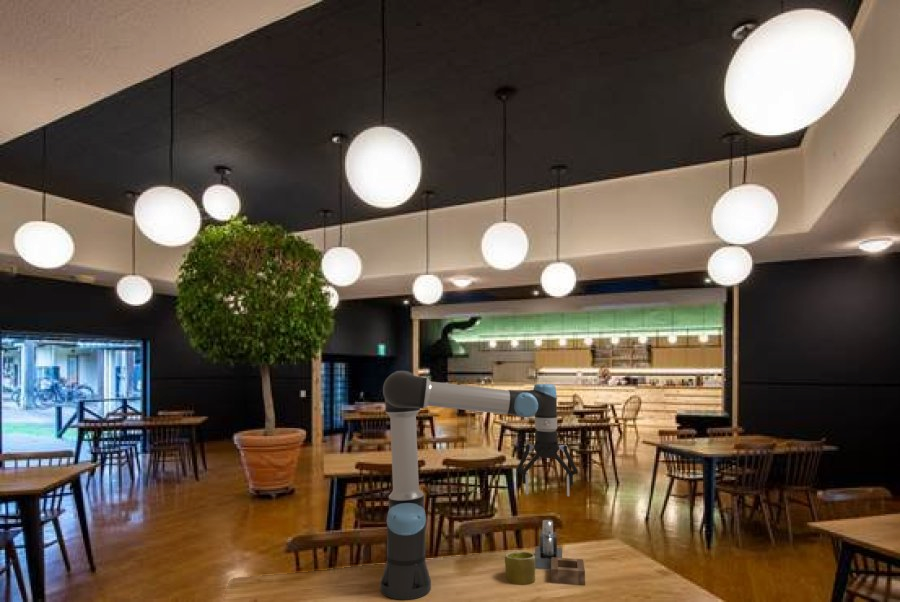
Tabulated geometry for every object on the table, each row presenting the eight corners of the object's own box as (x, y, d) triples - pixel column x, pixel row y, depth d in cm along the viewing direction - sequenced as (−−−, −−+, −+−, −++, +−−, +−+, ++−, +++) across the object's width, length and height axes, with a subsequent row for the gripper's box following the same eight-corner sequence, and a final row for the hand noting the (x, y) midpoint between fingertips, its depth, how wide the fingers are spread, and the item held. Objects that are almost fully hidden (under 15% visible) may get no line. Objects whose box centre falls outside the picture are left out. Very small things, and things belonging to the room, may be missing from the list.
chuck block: (534, 571, 174) (534, 542, 175) (535, 557, 186) (535, 530, 187) (562, 573, 172) (562, 544, 173) (562, 559, 184) (561, 532, 185)
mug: (540, 585, 159) (530, 549, 163) (507, 593, 161) (498, 557, 164) (544, 577, 170) (534, 544, 174) (513, 585, 172) (504, 552, 175)
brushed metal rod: (543, 566, 175) (542, 522, 177) (543, 563, 179) (542, 519, 180) (553, 567, 175) (552, 523, 176) (553, 563, 178) (552, 520, 180)
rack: (551, 586, 163) (551, 568, 163) (551, 573, 172) (551, 557, 173) (585, 588, 161) (584, 571, 161) (583, 575, 171) (583, 559, 171)
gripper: (508, 430, 180) (509, 495, 178) (584, 432, 176) (586, 498, 173) (510, 427, 188) (511, 490, 185) (583, 429, 183) (585, 493, 181)
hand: (547, 494), depth 179 cm, fingers open, 13 cm apart
